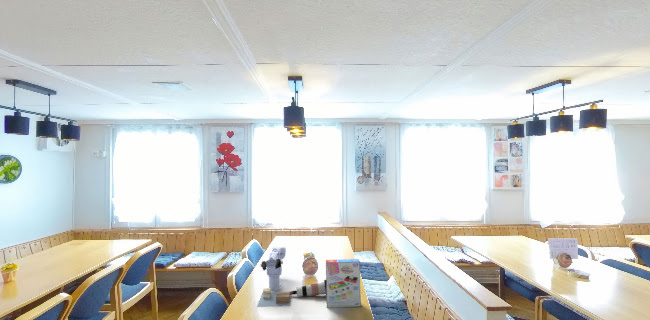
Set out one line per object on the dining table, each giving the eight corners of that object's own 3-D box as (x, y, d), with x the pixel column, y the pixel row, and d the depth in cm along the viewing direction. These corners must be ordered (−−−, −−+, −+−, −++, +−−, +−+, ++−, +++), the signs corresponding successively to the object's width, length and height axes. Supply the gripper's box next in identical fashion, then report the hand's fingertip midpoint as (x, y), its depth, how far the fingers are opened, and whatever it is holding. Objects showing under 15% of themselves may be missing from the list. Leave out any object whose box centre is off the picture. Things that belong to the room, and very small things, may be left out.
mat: (262, 293, 218) (262, 292, 218) (292, 292, 219) (292, 291, 219) (256, 307, 196) (256, 306, 196) (290, 306, 197) (290, 305, 197)
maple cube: (264, 295, 213) (264, 288, 213) (271, 295, 213) (270, 288, 213) (263, 298, 209) (262, 291, 209) (270, 297, 209) (270, 290, 209)
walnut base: (277, 298, 208) (277, 291, 208) (290, 297, 209) (289, 291, 209) (276, 303, 200) (275, 296, 200) (289, 303, 201) (289, 296, 201)
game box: (359, 303, 201) (359, 258, 201) (361, 307, 195) (360, 261, 196) (326, 304, 200) (325, 259, 200) (326, 308, 195) (325, 262, 195)
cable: (290, 302, 213) (288, 286, 218) (340, 294, 216) (338, 278, 220) (288, 301, 204) (287, 284, 209) (341, 293, 207) (339, 276, 211)
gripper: (261, 256, 220) (257, 263, 206) (282, 253, 220) (280, 260, 207) (262, 266, 220) (259, 274, 207) (284, 263, 221) (282, 271, 207)
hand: (269, 268), depth 207 cm, fingers open, 7 cm apart
